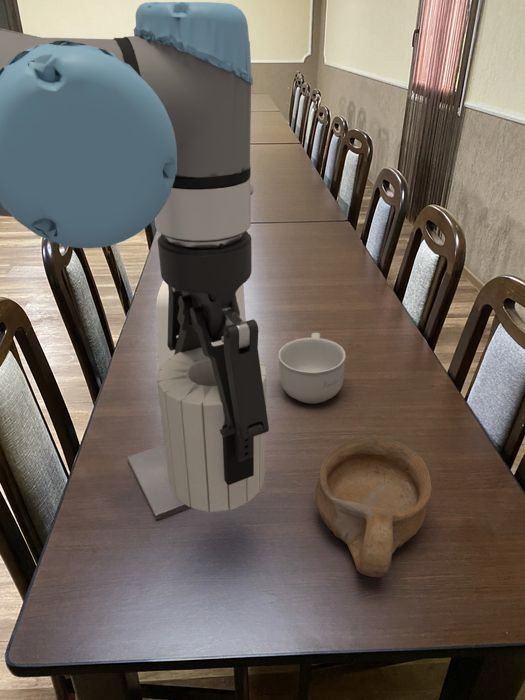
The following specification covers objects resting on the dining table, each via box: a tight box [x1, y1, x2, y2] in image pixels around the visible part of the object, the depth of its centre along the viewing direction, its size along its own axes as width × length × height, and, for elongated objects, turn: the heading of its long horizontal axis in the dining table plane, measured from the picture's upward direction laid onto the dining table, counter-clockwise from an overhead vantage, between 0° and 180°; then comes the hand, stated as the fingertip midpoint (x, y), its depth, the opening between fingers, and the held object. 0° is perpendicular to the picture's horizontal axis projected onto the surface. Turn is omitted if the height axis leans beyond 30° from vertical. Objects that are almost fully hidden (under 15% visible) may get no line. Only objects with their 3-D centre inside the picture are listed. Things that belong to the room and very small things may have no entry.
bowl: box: [315, 436, 433, 578], centre depth 63 cm, size 18×14×10 cm
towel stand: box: [126, 444, 191, 522], centre depth 70 cm, size 12×12×14 cm
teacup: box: [277, 332, 347, 405], centre depth 90 cm, size 14×11×8 cm
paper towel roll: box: [156, 345, 267, 513], centre depth 53 cm, size 10×10×13 cm
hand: (215, 444), depth 54 cm, fingers closed on paper towel roll, 10 cm apart
